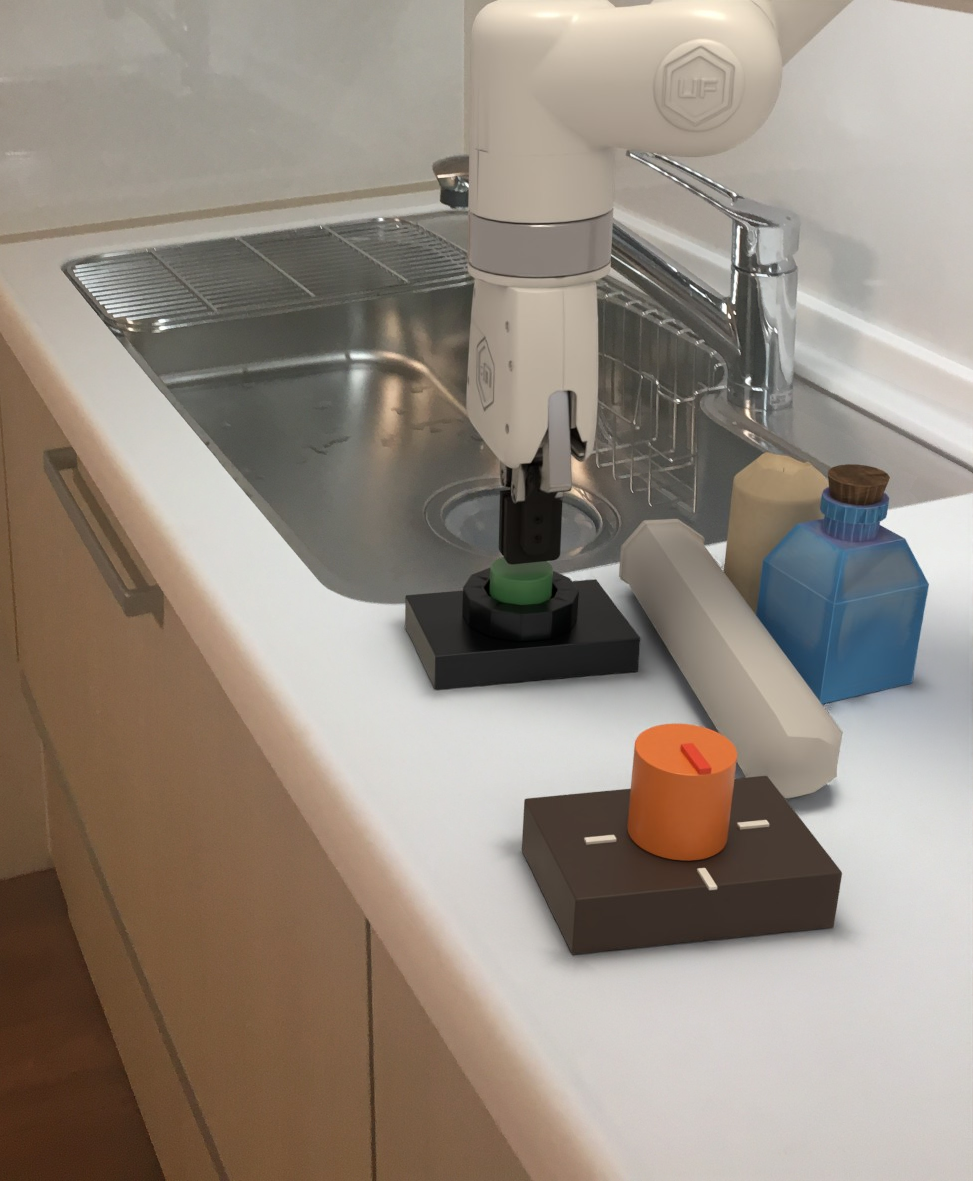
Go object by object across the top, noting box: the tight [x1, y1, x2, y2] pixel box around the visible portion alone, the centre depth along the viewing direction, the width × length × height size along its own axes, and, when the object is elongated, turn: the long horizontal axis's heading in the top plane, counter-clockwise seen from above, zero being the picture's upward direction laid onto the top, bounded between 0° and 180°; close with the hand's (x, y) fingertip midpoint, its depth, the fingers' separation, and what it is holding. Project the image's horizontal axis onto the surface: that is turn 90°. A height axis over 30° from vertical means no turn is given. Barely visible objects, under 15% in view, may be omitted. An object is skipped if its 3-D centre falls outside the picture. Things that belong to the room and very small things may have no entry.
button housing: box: [404, 567, 641, 690], centre depth 95 cm, size 12×8×4 cm, turn 96°
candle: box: [723, 451, 829, 615], centre depth 97 cm, size 6×6×10 cm
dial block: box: [521, 776, 843, 955], centre depth 74 cm, size 12×9×3 cm
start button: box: [489, 556, 554, 605], centre depth 94 cm, size 4×4×2 cm
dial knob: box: [627, 723, 738, 861], centre depth 73 cm, size 4×4×5 cm
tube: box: [618, 518, 844, 799], centre depth 90 cm, size 5×5×25 cm
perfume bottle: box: [756, 463, 930, 705], centre depth 90 cm, size 6×6×12 cm
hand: (529, 556), depth 94 cm, fingers closed
